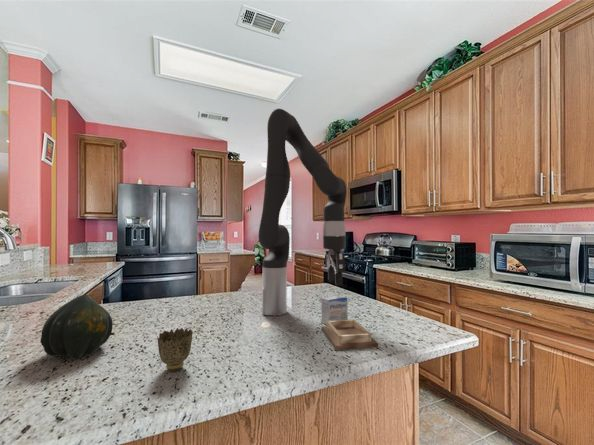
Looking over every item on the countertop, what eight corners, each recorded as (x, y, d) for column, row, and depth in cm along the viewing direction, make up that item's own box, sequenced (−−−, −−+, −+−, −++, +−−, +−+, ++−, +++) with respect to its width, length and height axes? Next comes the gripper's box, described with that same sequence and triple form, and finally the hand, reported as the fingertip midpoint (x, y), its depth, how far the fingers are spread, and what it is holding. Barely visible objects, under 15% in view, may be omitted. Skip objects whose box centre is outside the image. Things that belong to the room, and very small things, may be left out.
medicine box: (328, 326, 92) (328, 300, 92) (321, 322, 96) (321, 297, 96) (348, 323, 95) (347, 297, 96) (340, 319, 99) (340, 294, 100)
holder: (335, 350, 74) (335, 338, 74) (321, 329, 89) (321, 320, 89) (378, 346, 76) (378, 335, 76) (357, 327, 91) (357, 318, 91)
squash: (38, 351, 61) (91, 290, 70) (16, 339, 69) (66, 286, 78) (94, 374, 69) (135, 317, 78) (69, 361, 77) (108, 311, 86)
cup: (164, 361, 68) (164, 327, 68) (196, 360, 69) (196, 327, 69) (151, 377, 61) (151, 340, 61) (186, 376, 61) (186, 339, 61)
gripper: (318, 234, 103) (319, 279, 102) (329, 235, 88) (330, 287, 88) (338, 234, 104) (339, 278, 103) (352, 234, 90) (353, 286, 89)
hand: (334, 282), depth 96 cm, fingers open, 8 cm apart
